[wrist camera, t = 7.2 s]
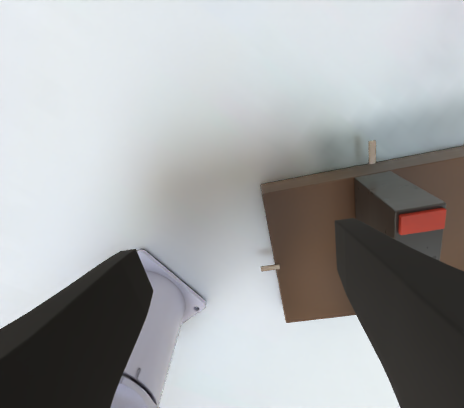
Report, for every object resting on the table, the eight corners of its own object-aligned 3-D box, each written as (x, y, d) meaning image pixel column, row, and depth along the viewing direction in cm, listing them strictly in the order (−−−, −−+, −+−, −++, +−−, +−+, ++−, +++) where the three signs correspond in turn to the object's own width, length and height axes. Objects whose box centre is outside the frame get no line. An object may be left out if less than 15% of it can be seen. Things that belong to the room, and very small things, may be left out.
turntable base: (274, 323, 25) (276, 343, 23) (240, 159, 18) (239, 167, 16) (459, 301, 23) (480, 321, 21) (491, 108, 16) (525, 110, 14)
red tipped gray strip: (387, 312, 21) (429, 378, 16) (358, 315, 21) (391, 381, 16) (390, 170, 16) (451, 204, 11) (354, 177, 16) (398, 213, 12)
